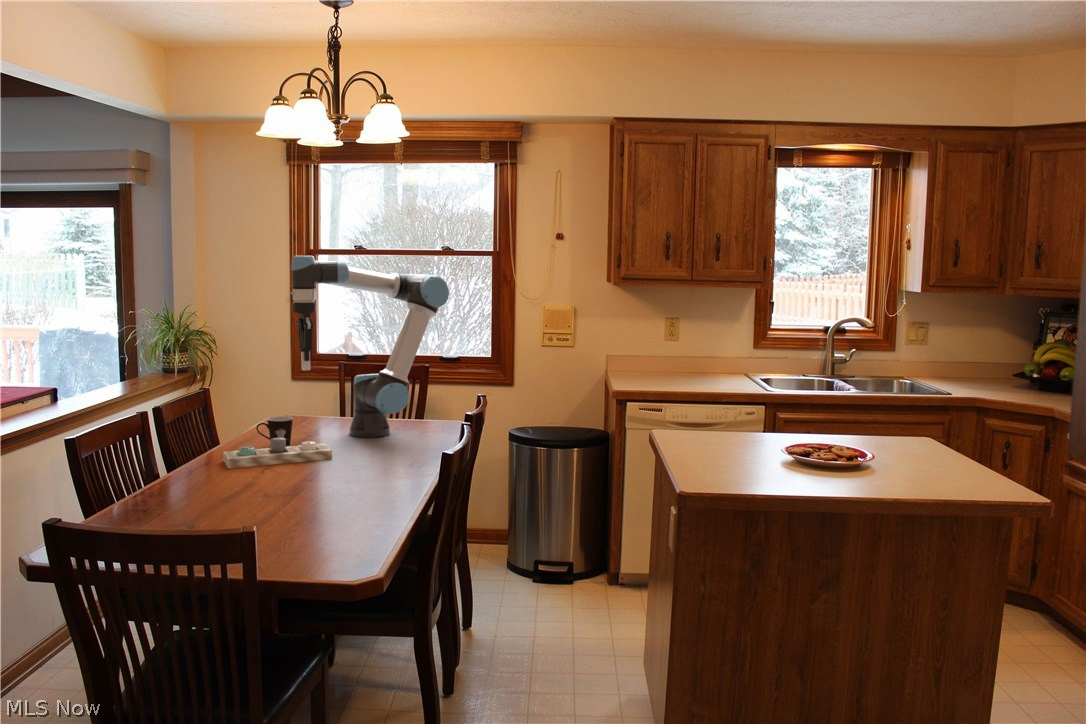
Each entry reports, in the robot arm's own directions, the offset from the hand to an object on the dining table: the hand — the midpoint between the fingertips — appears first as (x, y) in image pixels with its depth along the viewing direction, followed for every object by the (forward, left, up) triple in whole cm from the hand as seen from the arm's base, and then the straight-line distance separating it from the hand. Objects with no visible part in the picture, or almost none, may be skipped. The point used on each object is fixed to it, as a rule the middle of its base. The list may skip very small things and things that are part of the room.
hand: (306, 369), depth 291 cm
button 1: (+1, +9, -28) cm, 30 cm away
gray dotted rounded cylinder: (+11, +9, -26) cm, 30 cm away
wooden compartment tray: (+11, +9, -28) cm, 32 cm away
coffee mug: (+8, -11, -29) cm, 32 cm away
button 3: (+21, +9, -28) cm, 36 cm away
